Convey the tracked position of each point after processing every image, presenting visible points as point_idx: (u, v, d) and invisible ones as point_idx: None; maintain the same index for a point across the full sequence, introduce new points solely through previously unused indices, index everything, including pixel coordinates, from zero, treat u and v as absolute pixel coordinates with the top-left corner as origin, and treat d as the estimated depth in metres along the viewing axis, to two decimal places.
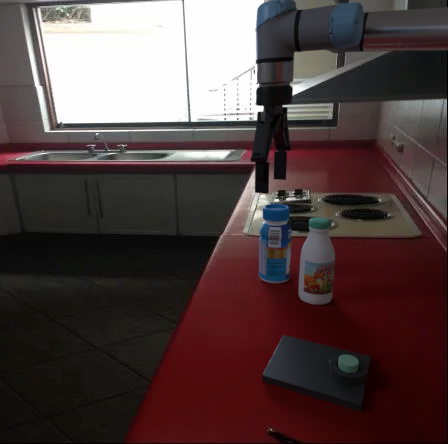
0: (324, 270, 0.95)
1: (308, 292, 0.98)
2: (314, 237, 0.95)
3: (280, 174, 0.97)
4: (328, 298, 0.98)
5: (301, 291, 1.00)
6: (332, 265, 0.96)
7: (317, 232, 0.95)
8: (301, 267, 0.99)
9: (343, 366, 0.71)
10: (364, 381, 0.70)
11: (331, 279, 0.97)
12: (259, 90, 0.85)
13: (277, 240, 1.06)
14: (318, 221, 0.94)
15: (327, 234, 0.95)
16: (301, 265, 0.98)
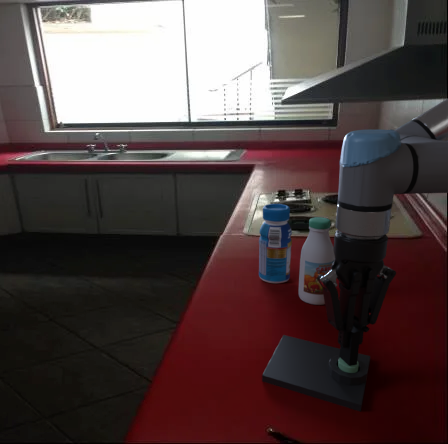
0: (324, 270, 0.95)
1: (308, 292, 0.98)
2: (315, 237, 0.95)
3: None
4: None
5: (301, 291, 1.00)
6: None
7: (317, 232, 0.95)
8: (301, 267, 0.99)
9: (343, 368, 0.71)
10: (364, 381, 0.70)
11: None
12: None
13: (277, 240, 1.06)
14: (318, 221, 0.94)
15: (327, 234, 0.95)
16: (301, 265, 0.98)
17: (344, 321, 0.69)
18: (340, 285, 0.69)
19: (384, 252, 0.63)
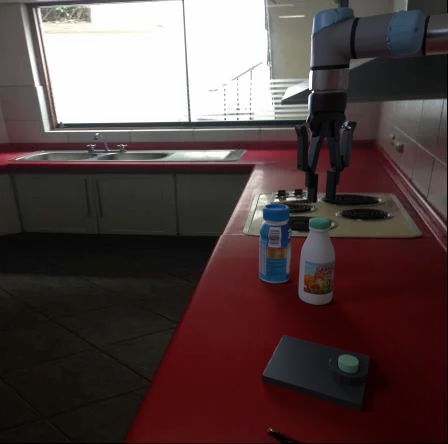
0: (324, 270, 0.95)
1: (308, 292, 0.98)
2: (315, 237, 0.95)
3: (329, 194, 0.94)
4: (328, 298, 0.98)
5: (301, 291, 1.00)
6: (332, 265, 0.96)
7: (317, 232, 0.95)
8: (301, 267, 0.99)
9: (343, 366, 0.71)
10: (364, 381, 0.70)
11: (331, 279, 0.97)
12: None
13: (277, 240, 1.06)
14: (318, 221, 0.94)
15: (327, 234, 0.95)
16: (301, 265, 0.98)
17: (310, 165, 0.90)
18: (311, 137, 0.90)
19: (344, 103, 0.85)
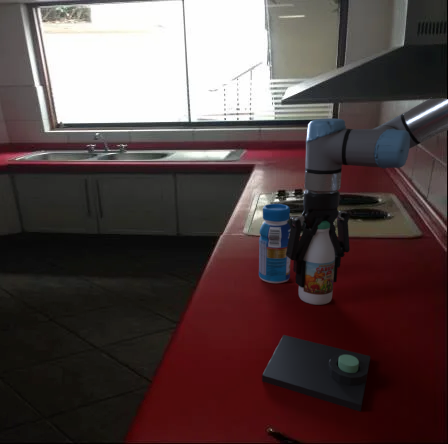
0: (324, 270, 0.95)
1: (308, 292, 0.98)
2: (314, 237, 0.95)
3: None
4: (328, 298, 0.98)
5: (301, 291, 1.00)
6: (332, 265, 0.96)
7: (317, 232, 0.95)
8: None
9: (343, 366, 0.71)
10: (364, 381, 0.70)
11: (331, 279, 0.97)
12: None
13: (277, 240, 1.06)
14: None
15: (327, 234, 0.95)
16: None
17: (298, 253, 0.96)
18: (304, 228, 0.97)
19: (337, 203, 0.91)
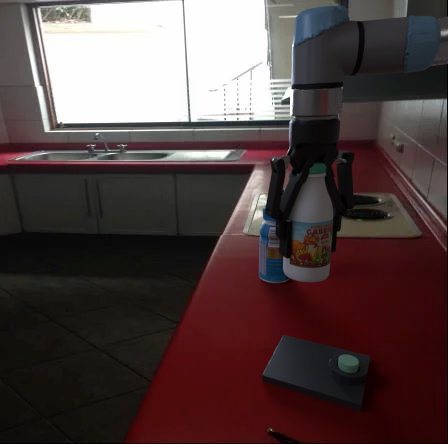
0: (318, 233, 0.67)
1: (295, 265, 0.70)
2: (305, 186, 0.67)
3: None
4: (324, 273, 0.70)
5: (286, 264, 0.72)
6: (329, 226, 0.68)
7: (308, 179, 0.67)
8: None
9: (343, 366, 0.71)
10: (364, 381, 0.70)
11: (328, 246, 0.69)
12: None
13: (277, 240, 1.06)
14: None
15: (322, 182, 0.67)
16: None
17: (282, 209, 0.68)
18: (290, 174, 0.69)
19: (336, 134, 0.63)
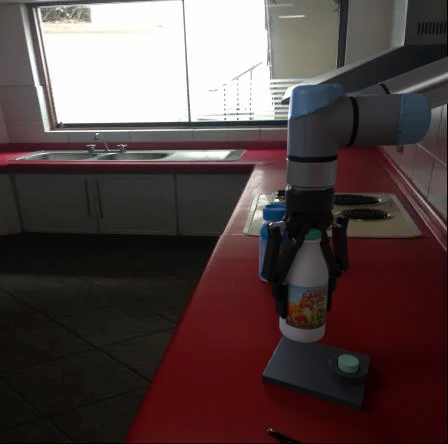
0: (313, 296, 0.69)
1: (291, 325, 0.72)
2: (300, 250, 0.69)
3: None
4: (319, 334, 0.71)
5: (283, 323, 0.73)
6: (324, 289, 0.69)
7: (303, 244, 0.68)
8: None
9: (343, 366, 0.71)
10: (364, 381, 0.70)
11: (323, 308, 0.70)
12: None
13: None
14: None
15: (317, 247, 0.68)
16: None
17: (278, 272, 0.70)
18: (286, 238, 0.70)
19: (331, 204, 0.65)
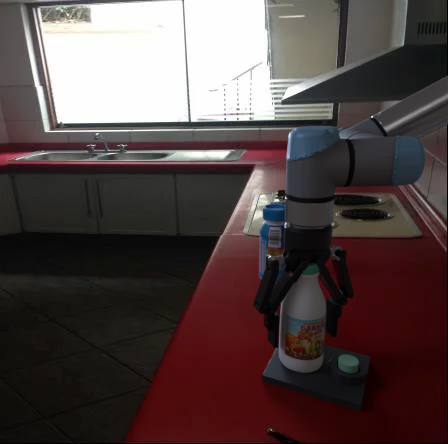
0: (311, 329, 0.71)
1: (290, 356, 0.74)
2: (299, 284, 0.71)
3: (329, 328, 0.76)
4: (317, 364, 0.73)
5: (282, 353, 0.75)
6: (322, 322, 0.71)
7: (301, 278, 0.70)
8: (281, 322, 0.74)
9: (343, 366, 0.71)
10: (364, 381, 0.70)
11: (321, 340, 0.72)
12: (284, 226, 0.70)
13: (277, 240, 1.06)
14: None
15: (315, 281, 0.70)
16: (281, 320, 0.74)
17: (271, 303, 0.71)
18: (283, 271, 0.72)
19: (328, 241, 0.67)
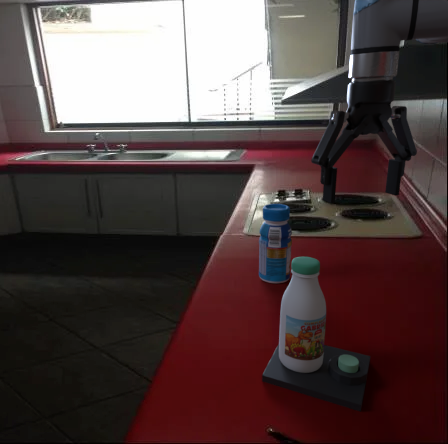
0: (311, 329, 0.70)
1: (290, 356, 0.74)
2: (299, 284, 0.71)
3: (391, 188, 0.80)
4: (317, 364, 0.73)
5: (282, 353, 0.75)
6: (322, 322, 0.71)
7: (301, 278, 0.70)
8: (281, 322, 0.74)
9: (343, 366, 0.71)
10: (364, 381, 0.70)
11: (321, 340, 0.72)
12: (348, 86, 0.74)
13: (277, 240, 1.06)
14: (303, 263, 0.70)
15: (315, 281, 0.70)
16: (281, 320, 0.74)
17: (330, 156, 0.75)
18: (344, 130, 0.76)
19: (392, 93, 0.71)
